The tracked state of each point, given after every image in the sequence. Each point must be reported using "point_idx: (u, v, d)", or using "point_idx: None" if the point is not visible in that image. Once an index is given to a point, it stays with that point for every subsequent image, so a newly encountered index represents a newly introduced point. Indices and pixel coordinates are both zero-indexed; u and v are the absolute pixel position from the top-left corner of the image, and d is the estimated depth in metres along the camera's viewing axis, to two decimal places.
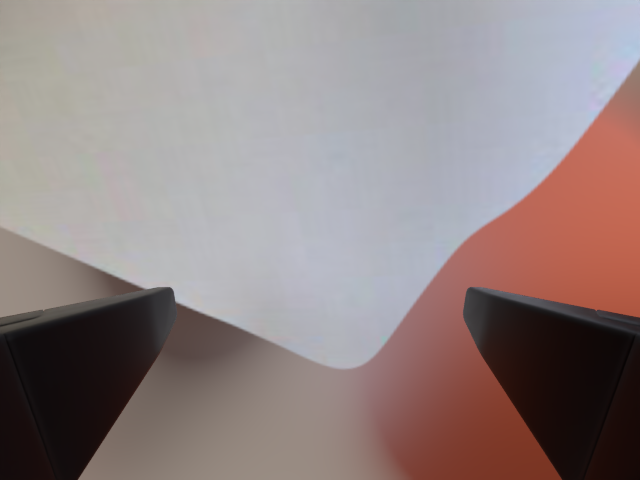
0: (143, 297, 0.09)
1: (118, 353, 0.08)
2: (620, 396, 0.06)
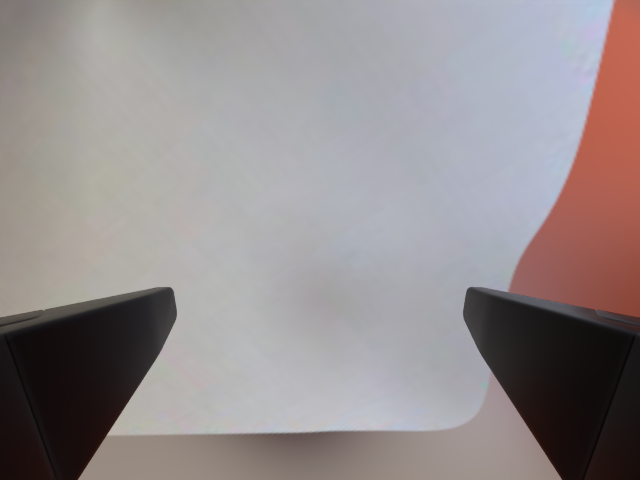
0: (143, 297, 0.09)
1: (118, 353, 0.08)
2: (620, 396, 0.06)
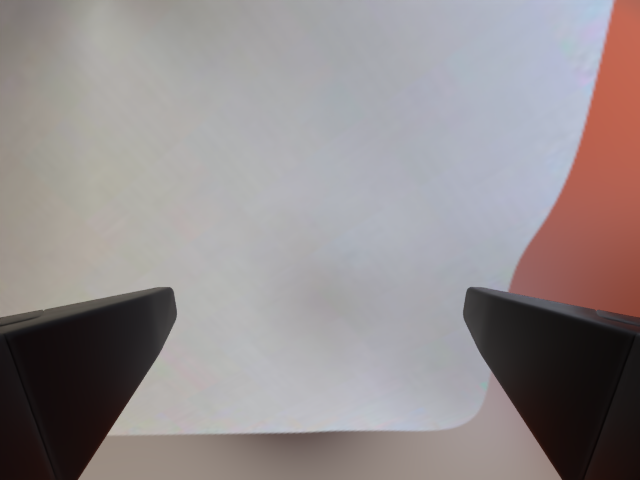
0: (143, 297, 0.09)
1: (118, 353, 0.08)
2: (620, 396, 0.06)
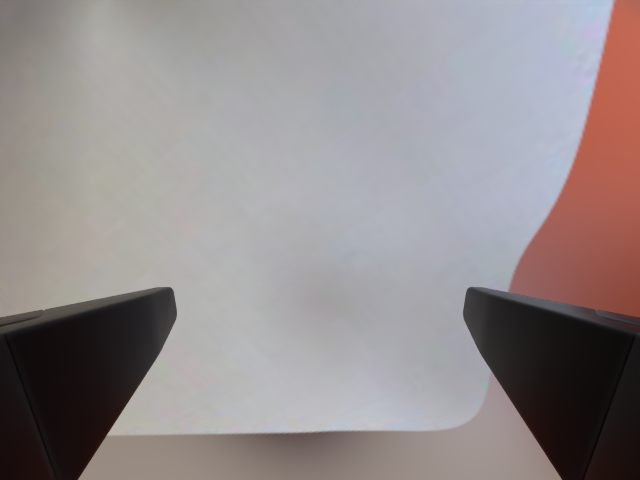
0: (143, 297, 0.09)
1: (118, 353, 0.08)
2: (620, 396, 0.06)
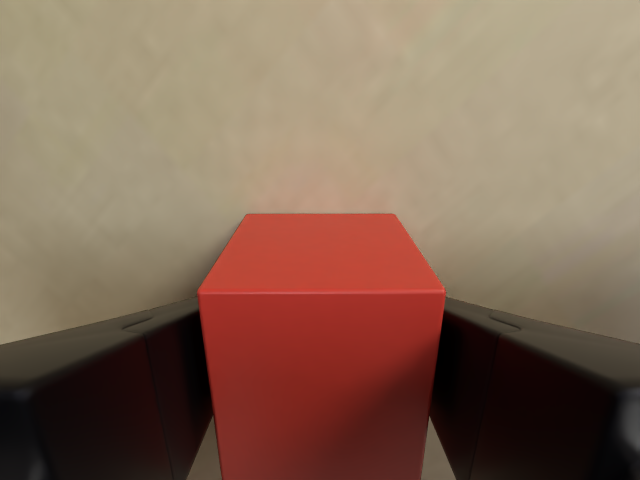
0: None
1: None
2: (490, 396, 0.06)
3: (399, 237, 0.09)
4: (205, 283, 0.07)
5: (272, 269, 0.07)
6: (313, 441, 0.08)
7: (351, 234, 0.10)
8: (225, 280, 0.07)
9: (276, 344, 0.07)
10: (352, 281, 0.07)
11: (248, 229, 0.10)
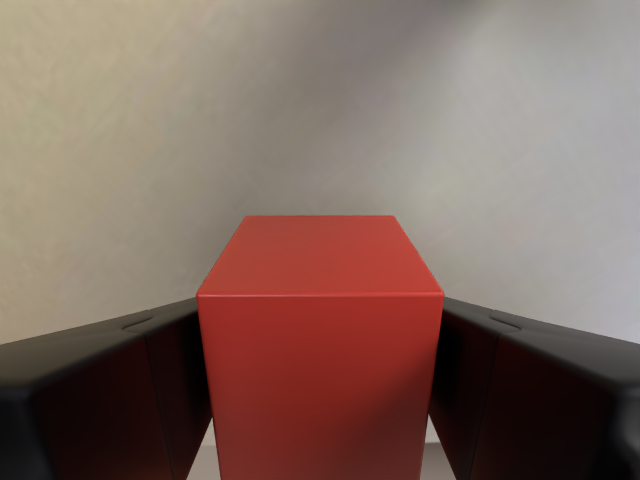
0: None
1: None
2: (490, 396, 0.06)
3: (398, 239, 0.09)
4: (204, 286, 0.07)
5: (271, 272, 0.08)
6: (311, 443, 0.08)
7: (350, 236, 0.10)
8: (224, 283, 0.07)
9: (274, 346, 0.07)
10: (351, 283, 0.07)
11: (246, 231, 0.10)
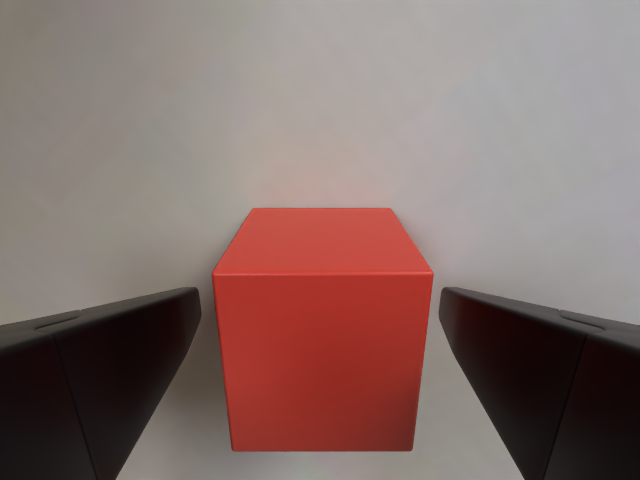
0: (173, 297, 0.09)
1: (151, 353, 0.08)
2: (574, 396, 0.06)
3: (394, 228, 0.10)
4: (218, 266, 0.08)
5: (278, 255, 0.08)
6: (314, 411, 0.09)
7: (349, 225, 0.10)
8: (236, 264, 0.08)
9: (281, 321, 0.08)
10: (350, 265, 0.08)
11: (254, 221, 0.11)
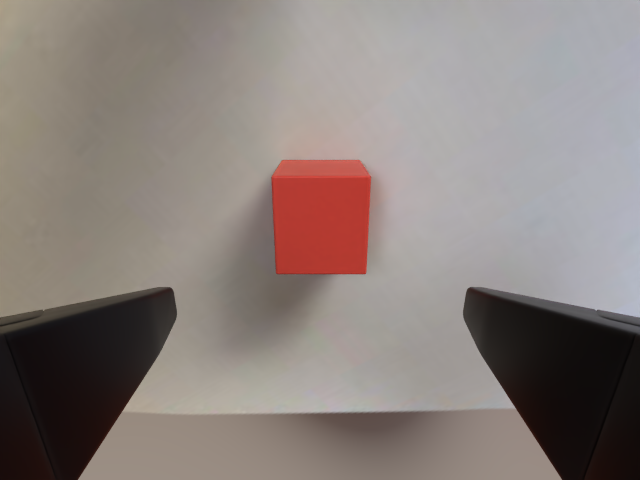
0: (143, 297, 0.09)
1: (118, 353, 0.08)
2: (620, 396, 0.06)
3: (358, 165, 0.20)
4: (274, 174, 0.17)
5: (300, 172, 0.18)
6: (317, 250, 0.18)
7: (335, 165, 0.20)
8: (282, 174, 0.17)
9: (302, 200, 0.17)
10: (333, 174, 0.17)
11: (285, 163, 0.20)
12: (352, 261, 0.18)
